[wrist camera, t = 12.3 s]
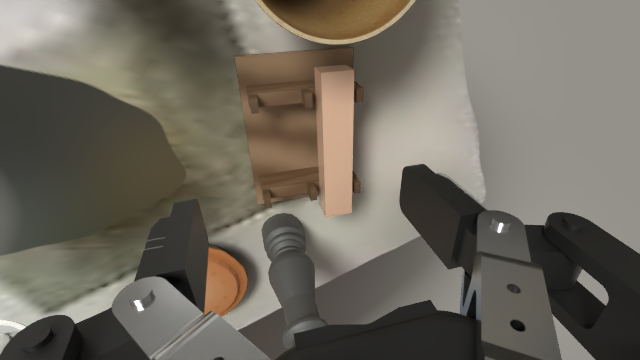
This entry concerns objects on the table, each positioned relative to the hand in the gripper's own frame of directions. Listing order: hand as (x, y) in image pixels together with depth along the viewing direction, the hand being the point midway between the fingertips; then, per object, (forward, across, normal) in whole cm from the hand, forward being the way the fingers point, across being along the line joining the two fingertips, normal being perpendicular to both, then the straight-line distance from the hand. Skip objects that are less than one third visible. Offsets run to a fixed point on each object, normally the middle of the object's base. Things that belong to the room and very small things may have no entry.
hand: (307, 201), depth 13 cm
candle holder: (+30, -1, +25) cm, 39 cm away
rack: (+30, -5, +9) cm, 32 cm away
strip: (+25, -8, +9) cm, 28 cm away
